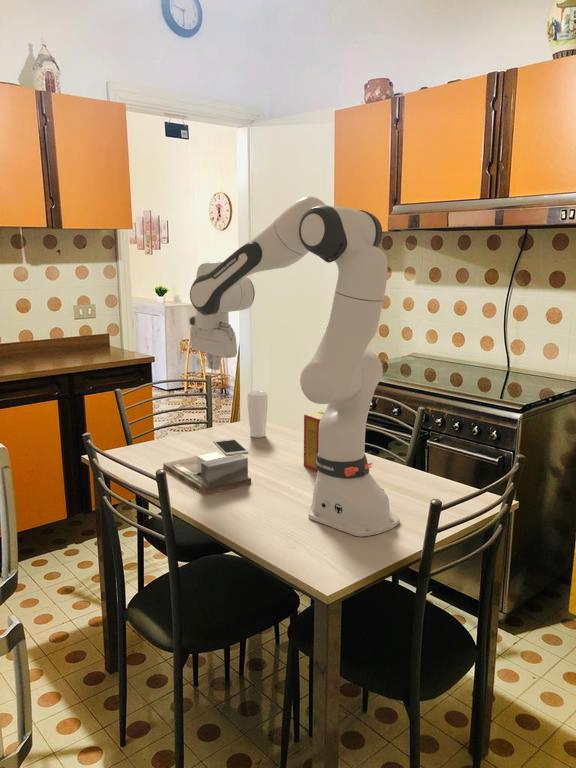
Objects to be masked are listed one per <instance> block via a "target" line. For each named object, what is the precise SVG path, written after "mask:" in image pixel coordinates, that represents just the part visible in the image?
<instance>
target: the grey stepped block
mask: <svg viewBox="0 0 576 768" xmlns="http://www.w3.org/2000/svg"><path fill="white" fill-rule="evenodd" d="M197 456H198V455H195V456H192V457H187V458H182V459H177V460H173V461H168V462H163V464H162V465H163V467H162V468H163V469H164V468H165V469H164V470H166V471H167V472H169V473H170V474H171V475H173V476H175V477H177V479H180V480H181V481H183V482H184V483H186V484H187V485H189V486H191V487H192V488H194V489H195V488H196V489H195V490H197V491H198V490H199V492H201V493H202V494H204V495H205V496H208V495H212V494H215V493H220V492H224V491H227V490H231V489H235V488H236V489H237V488H239V487H242V486H243V487H244V486H246V485H251V484H252V477H249V467H248V466H249V463H248V462H249V461H248V460H249V458H248V457H246V456H245V455H244V454H238V455H230V456H225V457H224V458H220V459H215V460H211V461H206V462H202V463H201V475H197V476H194V474H196V473H198V467H197Z"/></svg>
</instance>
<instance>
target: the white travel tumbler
mask: <svg viewBox="0 0 576 768" xmlns="http://www.w3.org/2000/svg"><path fill="white" fill-rule="evenodd" d="M268 398H269V397H268V392H267V391H263V390H253V391H248V392H247V411H248V414H247V415H248V421H249V422H248V423H249V425H248V426H249V435H250V437H252V438H256V439H257V438H264V437H265V436H266V434H267V417H268V406H269V404H268V402H269V400H268Z"/></svg>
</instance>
